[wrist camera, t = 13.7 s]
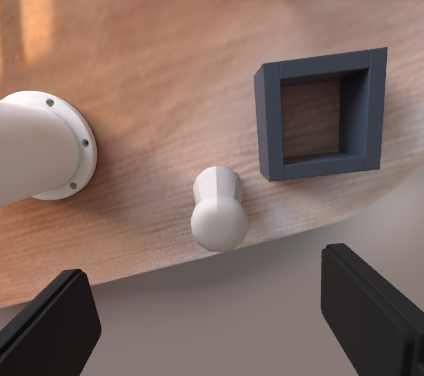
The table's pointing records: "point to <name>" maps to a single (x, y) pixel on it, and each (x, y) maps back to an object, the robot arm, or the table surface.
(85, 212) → the table surface
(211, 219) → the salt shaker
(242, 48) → the table surface
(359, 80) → the holder
